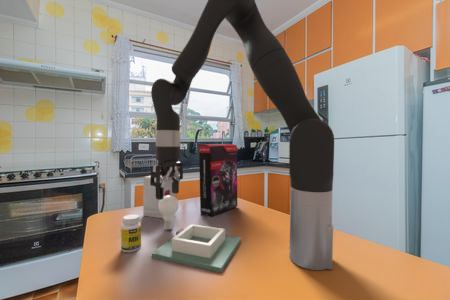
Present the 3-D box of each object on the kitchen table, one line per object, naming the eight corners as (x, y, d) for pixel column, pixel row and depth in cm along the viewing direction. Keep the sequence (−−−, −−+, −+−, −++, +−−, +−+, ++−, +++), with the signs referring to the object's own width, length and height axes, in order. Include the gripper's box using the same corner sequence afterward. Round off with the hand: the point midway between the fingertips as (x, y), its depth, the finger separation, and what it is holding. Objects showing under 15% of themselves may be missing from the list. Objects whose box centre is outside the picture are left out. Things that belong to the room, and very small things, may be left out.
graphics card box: (211, 217, 81) (211, 144, 80) (198, 213, 86) (198, 144, 85) (237, 207, 95) (238, 144, 94) (225, 204, 99) (225, 143, 98)
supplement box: (163, 219, 80) (162, 178, 79) (142, 216, 83) (142, 176, 82) (176, 211, 88) (176, 174, 88) (157, 209, 91) (157, 173, 91)
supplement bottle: (128, 254, 54) (128, 221, 54) (117, 249, 57) (117, 217, 57) (144, 247, 59) (144, 215, 58) (133, 242, 61) (133, 212, 61)
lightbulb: (173, 234, 67) (173, 198, 66) (154, 232, 68) (154, 197, 67) (181, 226, 73) (181, 193, 72) (164, 225, 74) (164, 192, 74)
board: (241, 241, 62) (241, 227, 62) (221, 272, 47) (221, 254, 47) (185, 232, 68) (185, 219, 68) (151, 257, 53) (151, 241, 53)
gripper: (165, 145, 61) (164, 203, 62) (189, 145, 75) (189, 192, 75) (143, 145, 64) (143, 200, 65) (170, 144, 77) (170, 190, 78)
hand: (167, 196), depth 70 cm, fingers open, 8 cm apart
